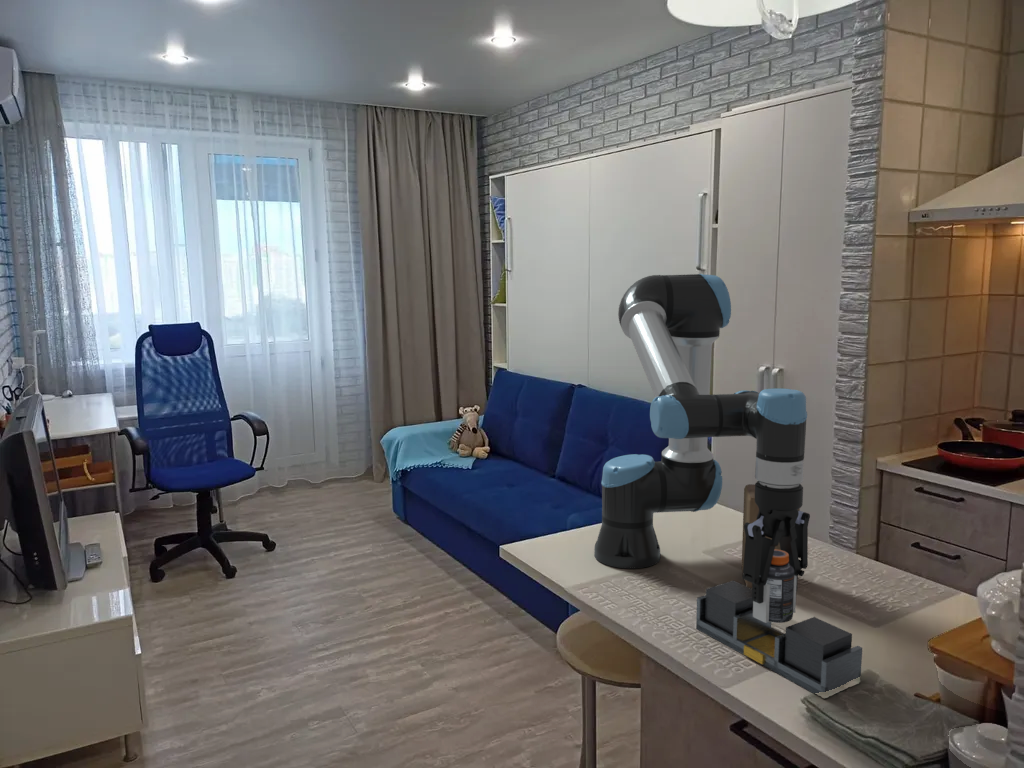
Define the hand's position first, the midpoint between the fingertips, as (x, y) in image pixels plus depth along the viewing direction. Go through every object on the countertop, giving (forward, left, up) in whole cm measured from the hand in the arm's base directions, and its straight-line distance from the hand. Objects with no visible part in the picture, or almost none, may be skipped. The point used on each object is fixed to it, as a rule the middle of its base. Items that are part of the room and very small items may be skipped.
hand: (774, 614), depth 126 cm
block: (-21, +24, -7) cm, 33 cm away
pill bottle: (0, 0, 0) cm, 0 cm away
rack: (0, 0, -7) cm, 7 cm away
